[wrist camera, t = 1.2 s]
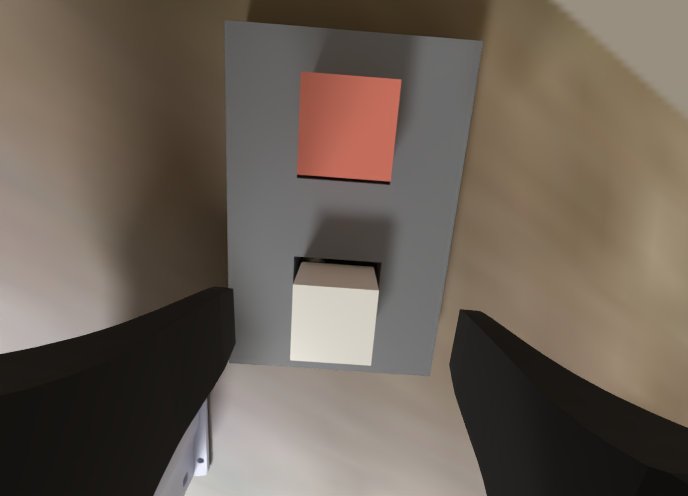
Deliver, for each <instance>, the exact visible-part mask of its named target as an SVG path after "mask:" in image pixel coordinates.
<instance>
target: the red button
mask: <svg viewBox="0 0 688 496" xmlns="http://www.w3.org/2000/svg"><path fill="white" fill-rule="evenodd" d="M401 80H402V79H389V78H376V77H364V76H351V75H339V74H326V73H314V72H301V81H300V107H299V134H298V161H297V175H311V176H324V177H337V178H351V179H364V180H377V181H391V174H392V164H393V155H394V146H395V136H396V127H397V118H398V108H399V99H400V90H401Z"/></svg>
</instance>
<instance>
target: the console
mask: <svg viewBox="0 0 688 496" xmlns="http://www.w3.org/2000/svg"><path fill="white" fill-rule="evenodd" d="M224 31H225V100H226V168H227V237H228V288H233V292H234V314H235V336H236V344H235V346H234V349H233V351H232V353H231V356H230V358H229V363H238V364H253V365H268V366H283V367H298V368H314V369H329V370H344V371H359V372H374V373H389V374H404V375H419V376H430V372H431V366H432V360H433V353H434V347H435V341H436V335H437V328H438V322H439V316H440V309H441V303H442V297H443V291H444V284H445V278H446V272H447V265H448V259H449V253H450V247H451V240H452V234H453V228H454V221H455V215H456V209H457V203H458V196H459V190H460V184H461V177H462V171H463V165H464V159H465V152H466V146H467V140H468V133H469V127H470V121H471V115H472V108H473V102H474V96H475V89H476V83H477V77H478V71H479V64H480V58H481V52H482V45H483V41H477V40H465V39H453V38H440V37H428V36H416V35H404V34H391V33H379V32H367V31H355V30H342V29H330V28H318V27H305V26H293V25H281V24H269V23H256V22H244V21H232V20H224ZM301 72H314V73H326V74H339V75H351V76H364V77H376V78H389V79H402V80H401V90H400V99H399V108H398V118H397V127H396V136H395V146H394V155H393V164H392V174H391V181H377V180H364V179H351V178H337V177H324V176H311V175H297V161H298V134H299V107H300V81H301ZM300 257H311V258H325V259H339V260H353V261H367V262H376V263H375V276H376V280H377V284H378V288H379V295H378V305H377V314H376V323H375V333H374V342H373V351H372V361H371V366H367V365H352V364H337V363H322V362H307V361H292V360H290V348H291V322H292V295H293V283H294V280H295V278H296V275H297V273H298V270H299V268H300Z"/></svg>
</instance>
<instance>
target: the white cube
mask: <svg viewBox="0 0 688 496" xmlns="http://www.w3.org/2000/svg"><path fill="white" fill-rule="evenodd" d="M378 295H379V288H378V284H377V280H376V276H375V272H374V268H373V267H370V266H356V265H342V264H328V263H314V262H302V263H301V265H300V268H299V270H298V273H297V275H296V278H295V280H294V283H293V295H292V322H291V348H290V360H292V361H307V362H322V363H337V364H352V365H367V366H371V361H372V351H373V342H374V333H375V323H376V314H377V305H378Z"/></svg>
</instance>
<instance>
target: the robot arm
mask: <svg viewBox="0 0 688 496" xmlns="http://www.w3.org/2000/svg"><path fill="white" fill-rule="evenodd" d="M235 344H236V336H235V314H234V292H233V288H223V287H212V288H209V289H206V290H203V291H201V292H198V293H196V294H193V295H191V296H189V297H186V298H184V299H182V300H179V301H177V302H175V303H172V304H170V305H168V306H165V307H163V308H160V309H158V310H155V311H153V312H150V313H148V314H145V315H143V316H140V317H137V318H135V319H132V320H130V321H127V322H124V323H121V324H119V325H116V326H113V327H110V328H106V329H103V330H100V331H97V332H93V333H90V334H87V335H83V336H80V337H76V338H72V339H67V340H63V341H59V342H55V343H51V344H47V345H43V346H39V347H35V348H30V349H25V350H20V351H15V352H10V353H4V354H0V496H184V494H185V492H186V490H187V488H188V486H189V484H190V482H191V480H192V477H193V476H205V475H206V474H207V473H208V471H209V468H210V467H209V438H208V409H207V397H208V395H209V394H210V392H211V390H212V389H213V387H214V386H215V384H216V382H217V381H218V379H219V377H220V376H221V374H222V372H223V371H224V369H225V367H226V365H227V362H228V360H229V358H230V356H231V353H232V351H233V349H234V346H235ZM449 365H450V371H451V377H452V382H453V387H454V392H455V396H456V399H457V402H458V405H459V408H460V411H461V414H462V417H463V420H464V423H465V426H466V429H467V432H468V435H469V437H470V440H471V443H472V446H473V449H474V452H475V455H476V458H477V461H478V464H479V467H480V471H481V474H482V477H483V481H484V485H485V489H486V494H487V496H688V428H687V427H684V426H682V425H679V424H677V423H675V422H672V421H670V420H668V419H665V418H663V417H661V416H658V415H656V414H654V413H651V412H649V411H647V410H645V409H643V408H640V407H638V406H636V405H634V404H632V403H630V402H628V401H625V400H623V399H621V398H619V397H617V396H615V395H613V394H611V393H609V392H607V391H605V390H603V389H601V388H599V387H598V386H596V385H594V384H592V383H590V382H588V381H587V380H585V379H583V378H581V377H579V376H577V375H576V374H574V373H572V372H571V371H569V370H567V369H565V368H564V367H562V366H561V365H559V364H557V363H556V362H554V361H553V360H551V359H550V358H548V357H546V356H545V355H543V354H542V353H540V352H539V351H537V350H536V349H534V348H533V347H531V346H530V345H529V344H527V343H526V342H524V341H523V340H521V339H520V338H519V337H517V336H516V335H514V334H513V333H512V332H510V331H509V330H507V329H506V328H505V327H503V326H502V325H500V324H499V323H498V322H496V321H495V320H493V319H492V318H491V317H489V316H487V315H486V314H484V313H482V312H481V311H473V310H462V309H460V312H459V317H458V322H457V328H456V333H455V338H454V343H453V348H452V353H451V358H450V364H449ZM201 458H203V459H201Z"/></svg>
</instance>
